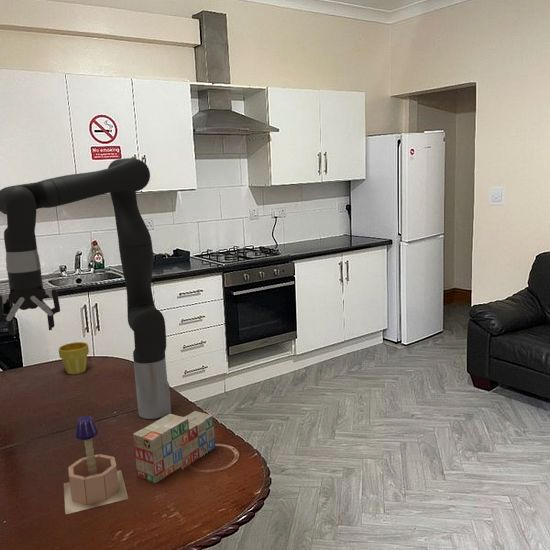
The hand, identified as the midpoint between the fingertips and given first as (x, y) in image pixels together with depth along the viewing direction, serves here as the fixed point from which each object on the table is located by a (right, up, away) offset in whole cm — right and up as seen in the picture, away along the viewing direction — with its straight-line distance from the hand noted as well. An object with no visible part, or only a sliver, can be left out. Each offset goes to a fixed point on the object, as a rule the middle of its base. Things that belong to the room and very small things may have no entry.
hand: (32, 332), depth 139 cm
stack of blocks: (+37, -33, -1) cm, 50 cm away
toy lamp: (+20, -34, -14) cm, 42 cm away
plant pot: (-13, -22, +66) cm, 71 cm away
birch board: (+20, -36, -14) cm, 43 cm away
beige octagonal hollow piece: (+20, -34, -14) cm, 42 cm away
